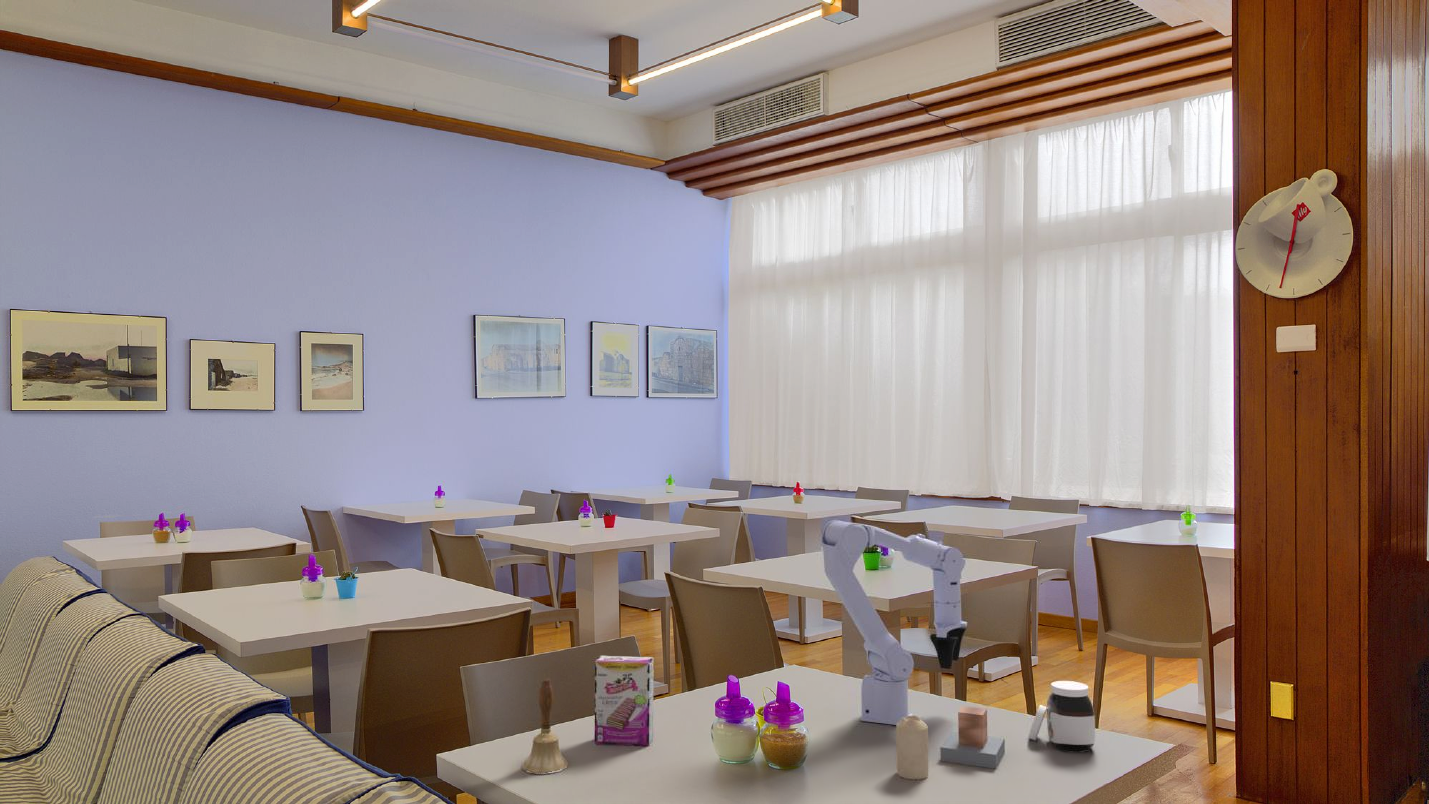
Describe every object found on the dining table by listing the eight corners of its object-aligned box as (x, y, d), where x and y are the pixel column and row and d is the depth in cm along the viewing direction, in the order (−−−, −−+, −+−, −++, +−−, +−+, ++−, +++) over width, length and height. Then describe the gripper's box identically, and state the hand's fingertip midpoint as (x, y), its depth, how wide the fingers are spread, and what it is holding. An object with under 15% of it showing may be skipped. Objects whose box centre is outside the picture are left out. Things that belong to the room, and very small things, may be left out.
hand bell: (576, 762, 175) (576, 675, 176) (553, 777, 167) (553, 686, 168) (537, 757, 178) (537, 671, 178) (513, 771, 170) (513, 682, 171)
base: (940, 760, 174) (940, 747, 174) (951, 744, 183) (951, 731, 183) (996, 768, 170) (995, 754, 170) (1004, 751, 179) (1004, 738, 179)
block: (958, 744, 176) (958, 712, 176) (963, 737, 180) (962, 705, 180) (983, 748, 174) (982, 715, 174) (987, 740, 178) (987, 708, 178)
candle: (928, 781, 164) (928, 723, 165) (896, 778, 165) (896, 721, 166) (928, 770, 170) (927, 713, 170) (897, 768, 171) (896, 712, 171)
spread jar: (1101, 754, 177) (1099, 692, 178) (1040, 754, 177) (1039, 692, 178) (1077, 734, 189) (1076, 676, 190) (1021, 734, 189) (1020, 676, 190)
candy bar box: (593, 745, 184) (593, 660, 185) (599, 737, 189) (599, 654, 190) (650, 746, 183) (649, 661, 184) (654, 738, 188) (654, 655, 189)
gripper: (959, 608, 197) (961, 673, 197) (972, 596, 210) (974, 657, 210) (925, 606, 200) (928, 670, 200) (940, 594, 213) (942, 655, 213)
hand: (949, 664), depth 205 cm, fingers open, 7 cm apart
